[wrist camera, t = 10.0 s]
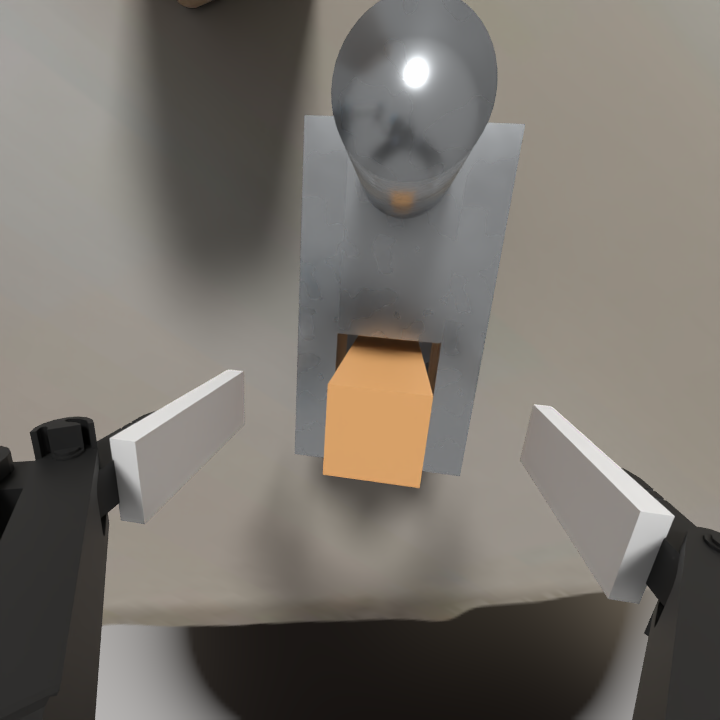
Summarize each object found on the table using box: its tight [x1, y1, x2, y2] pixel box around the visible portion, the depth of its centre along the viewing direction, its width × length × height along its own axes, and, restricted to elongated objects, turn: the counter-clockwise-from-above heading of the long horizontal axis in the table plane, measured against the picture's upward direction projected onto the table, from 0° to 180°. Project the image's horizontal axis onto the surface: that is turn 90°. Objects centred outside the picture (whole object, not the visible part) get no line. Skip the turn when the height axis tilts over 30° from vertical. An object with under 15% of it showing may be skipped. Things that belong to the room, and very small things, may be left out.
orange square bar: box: [323, 335, 433, 488], centre depth 20 cm, size 4×4×14 cm
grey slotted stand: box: [295, 0, 525, 476], centre depth 18 cm, size 10×18×16 cm, turn 175°
